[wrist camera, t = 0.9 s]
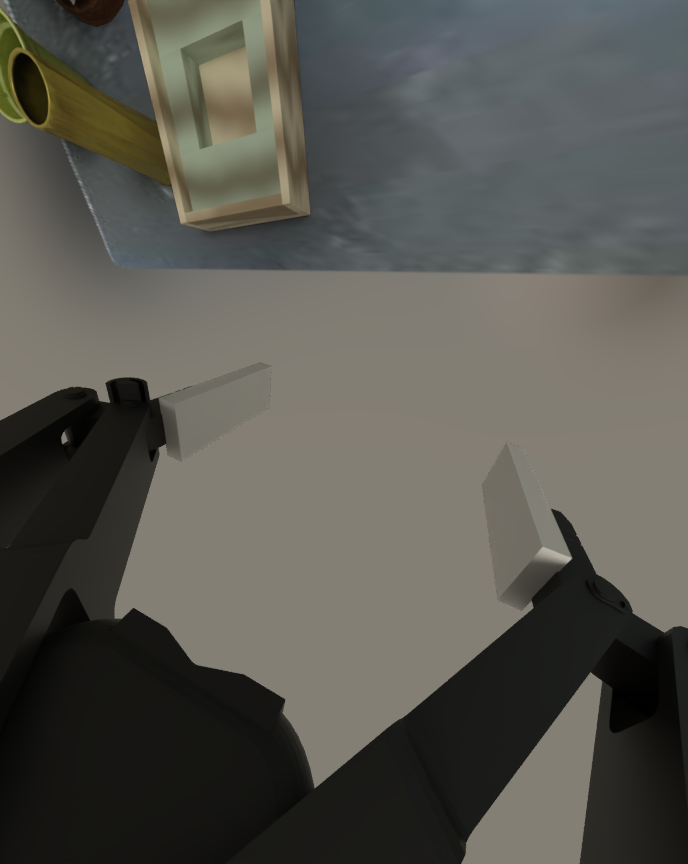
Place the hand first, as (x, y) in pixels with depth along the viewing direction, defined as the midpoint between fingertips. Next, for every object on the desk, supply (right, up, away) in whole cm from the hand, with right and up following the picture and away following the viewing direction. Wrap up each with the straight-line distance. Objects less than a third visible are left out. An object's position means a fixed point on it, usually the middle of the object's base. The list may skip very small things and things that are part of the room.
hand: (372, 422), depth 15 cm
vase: (-26, +37, +23) cm, 51 cm away
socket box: (-14, +37, +18) cm, 44 cm away
